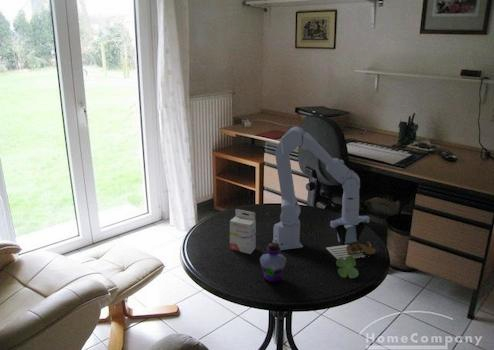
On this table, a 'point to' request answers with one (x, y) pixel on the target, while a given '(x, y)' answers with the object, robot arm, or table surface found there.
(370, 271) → the table surface
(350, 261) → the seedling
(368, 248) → the lion figurine
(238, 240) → the ink cartridge box
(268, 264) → the potion bottle
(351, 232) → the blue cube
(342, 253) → the white slatted trivet
